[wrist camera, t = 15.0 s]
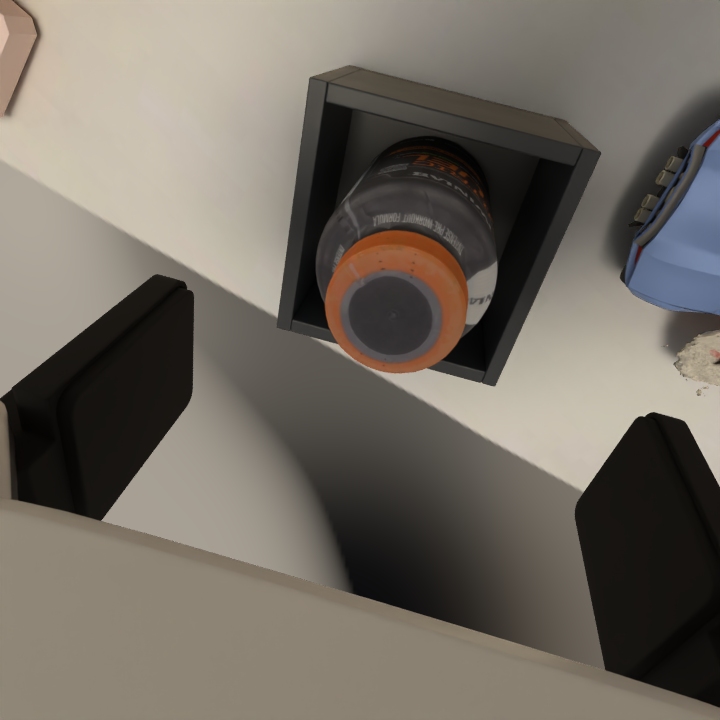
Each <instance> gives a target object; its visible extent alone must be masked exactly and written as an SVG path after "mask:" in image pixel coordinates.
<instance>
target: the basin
mask: <svg viewBox="0 0 720 720" xmlns="http://www.w3.org/2000/svg"><path fill="white" fill-rule="evenodd" d="M423 136H432V137H439V138H442V139H446V140H448V141H451V142H453V143H455V144H457V145H459V146H460V147H462V148H463V149H464V150H465V151H466V152H468V153H469V154H470V155H471V156H472V157H473V158H474V159H475V160H476V162H477V163H478V164H479V166H480V168H481V170H482V171H483V173H484V176H485V179H486V182H487V184H488V189H489V198H490V205H491V213H492V221H493V228H494V237H495V244H496V253H497V279H496V285H495V289H494V293H493V296H492V299H491V301H490V304H489V306H488V308H487V310H486V311H485V313H484V314H483V316H482V317H481V319H480V320H479V322H478V323H477V324H476V325H475V326H474V327H473V328H472V329H471V330H470V331H469V332H468V333H466V334H465V335H464V336H463V337H461V338H460V339H459V341H458V343H457V344H456V346H455V347H454V348H453V349H452V350H451V352H450V353H449V354H448V355H447V356H446V357H444V358H443V359H442V360H440V361H439V362H438V363H436V364H434V365H432V366H430V367H428V369H431V370H435V371H439V372H442V373H446V374H450V375H453V376H457V377H461V378H464V379H468V380H472V381H476V382H479V383H481V382H482V383H483V384H487V385H490V386H495V385H496V383H497V381H498V379H499V377H500V375H501V372H502V370H503V368H504V366H505V364H506V361H507V359H508V357H509V355H510V353H511V350H512V348H513V346H514V344H515V342H516V339H517V337H518V335H519V333H520V331H521V329H522V326H523V324H524V322H525V320H526V318H527V315H528V313H529V311H530V309H531V307H532V304H533V302H534V300H535V298H536V296H537V293H538V291H539V289H540V287H541V285H542V282H543V280H544V278H545V276H546V274H547V271H548V269H549V267H550V265H551V263H552V260H553V258H554V256H555V254H556V252H557V249H558V247H559V245H560V243H561V241H562V238H563V236H564V234H565V232H566V230H567V227H568V225H569V223H570V221H571V219H572V216H573V214H574V212H575V210H576V208H577V206H578V203H579V201H580V199H581V197H582V195H583V192H584V190H585V188H586V186H587V184H588V181H589V179H590V177H591V175H592V173H593V170H594V168H595V166H596V164H597V162H598V159H599V157H600V155H601V152H600V151H599V150H598V149H597V148H595V147H594V146H593V145H592V144H591V143H590V142H589V141H588V140H587V139H585V138H584V137H583V136H582V135H581V134H580V133H579V132H578V131H577V130H576V129H574V128H573V127H572V126H571V125H570V124H569V123H568V122H567V121H565V120H561V119H557V118H553V117H549V116H545V115H541V114H537V113H534V112H530V111H526V110H522V109H518V108H514V107H510V106H506V105H502V104H498V103H495V102H491V101H487V100H483V99H479V98H475V97H471V96H467V95H463V94H459V93H456V92H452V91H448V90H444V89H440V88H436V87H432V86H428V85H424V84H420V83H417V82H413V81H409V80H405V79H401V78H397V77H393V76H389V75H385V74H381V73H378V72H374V71H370V70H366V69H362V68H358V67H354V66H350V65H349V66H345V67H342V68H339V69H335V70H332V71H329V72H326V73H323V74H319V75H316V76H313V77H310V78H309V86H308V93H307V101H306V108H305V116H304V124H303V131H302V139H301V146H300V154H299V161H298V169H297V177H296V184H295V192H294V199H293V207H292V215H291V222H290V230H289V237H288V245H287V252H286V260H285V268H284V275H283V283H282V290H281V298H280V305H279V313H278V321H277V328H281V329H284V330H288V331H290V330H291V331H292V332H295V333H299V334H303V335H307V336H310V337H314V338H318V339H321V340H325V341H329V342H332V343H336V344H338V343H337V341H336V340H335V338H334V336H333V334H332V332H331V330H330V328H329V326H328V321H327V317H326V311H325V303H324V301H323V299H322V297H321V293H320V290H319V287H318V282H317V276H316V254H317V249H318V244H319V241H320V237H321V235H322V233H323V231H324V228H325V225H326V224H327V222H328V220H329V219H330V217H331V216H332V215H333V213H334V212H335V211H336V209H337V208H338V207H339V205H340V204H341V203H342V201H343V200H344V199H345V197H346V196H347V194H348V193H349V192H350V190H351V189H352V188H353V186H354V185H355V184H356V182H357V181H358V180H359V179H360V177H361V176H362V175H363V173H364V172H365V171H366V169H367V168H368V167H369V165H370V164H371V162H372V161H373V160H374V159H375V158H376V157H377V156H378V155H379V154H380V153H382V152H383V151H384V150H385V149H387V148H388V147H390V146H391V145H393V144H395V143H397V142H400V141H402V140H405V139H408V138H415V137H423Z"/></svg>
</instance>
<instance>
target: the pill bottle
mask: <svg viewBox="0 0 720 720" xmlns="http://www.w3.org/2000/svg"><path fill="white" fill-rule="evenodd" d="M316 276H317V282H318V287H319V290H320V293H321V297H322V299H323V301H324V303H325V311H326V317H327V321H328V326H329V328H330V330H331V332H332V334H333V336H334V338H335V340H336V341H337V343H338V344H339V345H340V347H341V348H342V349H343V350H344V351H345V352H346V353H348V354H349V355H350V356H351V357H352V358H354V359H355V360H357V361H359V362H360V363H362V364H364V365H366V366H368V367H370V368H373V369H376V370H378V371H383V372H388V373H408V372H416V371H419V370H423V369H425V368H428V367H430V366H432V365H434V364H436V363H438V362H439V361H440V360H442V359H443V358H444V357H446V356H447V355H448V354H449V353H450V352H451V350H452V349H453V348H454V347H455V346H456V344H457V343H458V341H459V339H460V338H461V337H463V336H464V335H465V334H466V333H468V332H469V331H470V330H471V329H472V328H473V327H474V326H475V325H476V324H477V323H478V322H479V320H480V319H481V317H482V316H483V314H484V313H485V311H486V310H487V308H488V306H489V304H490V301H491V299H492V296H493V293H494V289H495V285H496V279H497V253H496V244H495V237H494V228H493V221H492V213H491V205H490V198H489V189H488V184H487V182H486V179H485V176H484V173H483V171H482V170H481V168H480V166H479V164H478V163H477V162H476V160H475V159H474V158H473V157H472V156H471V155H470V154H469V153H468V152H466V151H465V150H464V149H463V148H462V147H460V146H459V145H457V144H455V143H453V142H451V141H448V140H446V139H442V138H439V137H432V136H423V137H415V138H408V139H405V140H402V141H400V142H397V143H395V144H393V145H391V146H390V147H388V148H387V149H385V150H384V151H383V152H382V153H380V154H379V155H378V156H377V157H376V158H375V159H374V160H373V161H372V162H371V164H370V165H369V167H368V168H367V169H366V171H365V172H364V173H363V175H362V176H361V177H360V179H359V180H358V181H357V182H356V184H355V185H354V186H353V188H352V189H351V190H350V192H349V193H348V194H347V196H346V197H345V199H344V200H343V201H342V203H341V204H340V205H339V207H338V208H337V209H336V211H335V212H334V213H333V215H332V216H331V217H330V219H329V220H328V222H327V224H326V225H325V228H324V231H323V233H322V235H321V237H320V241H319V244H318V249H317V254H316Z"/></svg>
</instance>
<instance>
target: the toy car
mask: <svg viewBox="0 0 720 720" xmlns="http://www.w3.org/2000/svg"><path fill="white" fill-rule="evenodd" d="M711 136H712V137H711ZM692 147H693V148H692ZM691 149H692V152H691V154H690V151H691ZM665 169H666V170H669V171H672V172H668V171H665V170H663V171H661V172H660V174H659V175H658V177H657V179H656V184H659V185H662V188H661V190H660V191H659V193H658V195H657V196H654V195H650V194H648V195H647V196H646V197H645V198H644V200H643V202H642V204H641V205H642V207H643V208H646V209H648V210H646V209H643V208H640V209H639V210H638V211H637V213H636V214H635V216H634V220H636V221H634V222H632V223H630V224H628V225H629V227H633V226H641V225H643V226H642V228H641V229H640V230H638V231H637V232H636V233H635V237H634V240H633V242H632V246H631V249H630V253H629V257H628V261H627V263H626V265H625V267H624V268H623V270H622V272H621V275H620V279H621V281H622V282H623V283H624V284H626V286H627V287H628V288H629V290H630V291H631V292H632V294H633V295H635V296H636V297H638V298H640V299H642V300H644V301H646V302H649V303H651V304H653V305H656V306H658V307H661V308H664V309H667V310H672V311H683V312H700V313H709V314H716V315H720V119H719V120H717V121H716V122H715V123H714V124H713V125H711V126H710V127H708V128H707V129H706V130H705V131H703V132H702V133H701V134H700V135H699V136H698V137H697V138H696V139H695V140H694V141H693V142H692V143H691V145H690V149H689V151H688V150H687V149H686V148H685V147H684V146H682V147H679V148H678V157H675V156H672V157H670V159H669V160H668V162H667V164H666V165H665ZM646 225H647V227H648V228H647V229H646V230H645V231H644V232H643V233H640V231H641V230H642V229H643V228H644V227H645V226H646ZM682 307H683V308H682Z"/></svg>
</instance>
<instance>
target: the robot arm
mask: <svg viewBox="0 0 720 720" xmlns="http://www.w3.org/2000/svg"><path fill="white" fill-rule="evenodd" d="M193 323H194V294H193V292H192V291H190V290H187V286H186V284H185V282H183V281H180V280H177V279H173V278H170V277H166V276H162V275H158V274H157V275H154V276H152V277H151V278H150V279H149V280H147V281H146V282H145V283H143V284H142V285H141V286H140V287H138V288H137V289H136V290H134V291H133V292H132V293H131V294H129V295H128V296H127V297H126V298H124V299H123V300H122V301H121V302H119V303H118V304H117V305H116V306H114V307H113V308H112V309H111V310H109V311H108V312H107V313H105V314H104V315H103V316H102V317H100V318H99V319H98V320H97V321H95V322H94V323H93V324H92V325H90V326H89V327H88V328H87V329H85V330H84V331H83V332H82V333H80V334H79V335H78V336H77V337H75V338H74V339H73V340H72V341H70V342H69V343H68V344H67V345H65V346H64V347H63V348H61V349H60V350H59V351H58V352H56V353H55V354H54V355H52V356H51V357H50V358H49V359H47V360H46V361H45V362H44V363H42V364H41V365H40V366H39V367H37V368H36V369H35V370H34V371H32V372H31V373H30V374H28V375H27V376H26V377H25V378H23V379H22V380H21V381H20V382H18V383H17V384H16V385H15V386H13V387H12V389H11V390H10V391H9V392H8V393H6V394H5V395H4V396H3V397H1V398H0V720H720V487H719V485H718V483H717V481H716V479H715V477H714V475H713V473H712V471H711V470H710V468H709V466H708V464H707V462H706V460H705V458H704V456H703V454H702V452H701V450H700V449H699V447H698V445H697V443H696V441H695V439H694V437H693V435H692V433H691V431H690V429H689V428H688V426H687V424H686V423H685V422H684V421H683V420H680V419H677V418H673V417H669V416H666V415H662V414H659V413H655V412H652V413H649V414H647V415H646V416H645V417H643V416H640V417H638V418H636V419H635V420H634V422H633V423H632V425H631V426H630V427H629V429H628V430H627V432H626V433H625V434H624V436H623V437H622V439H621V440H620V442H619V443H618V444H617V446H616V447H615V449H614V450H613V452H612V453H611V454H610V456H609V457H608V459H607V460H606V462H605V463H604V464H603V466H602V467H601V469H600V470H599V472H598V473H597V474H596V476H595V477H594V479H593V480H592V481H591V483H590V484H589V486H588V487H587V489H586V490H585V491H584V493H583V494H582V496H581V497H580V499H579V501H578V502H577V505H576V508H575V520H576V526H577V531H578V535H579V541H580V545H581V551H582V555H583V561H584V566H585V570H586V576H587V581H588V586H589V590H590V595H591V601H592V606H593V610H594V615H595V620H596V625H597V630H598V635H599V640H600V645H601V650H602V655H603V660H604V665H605V670H606V671H605V670H602V669H599V668H595V667H592V666H589V665H586V664H582V663H579V662H576V661H573V660H569V659H566V658H563V657H559V656H556V655H553V654H550V653H546V652H543V651H540V650H536V649H533V648H530V647H527V646H523V645H520V644H517V643H513V642H510V641H507V640H503V639H500V638H497V637H494V636H490V635H487V634H484V633H480V632H477V631H474V630H471V629H467V628H464V627H461V626H458V625H454V624H450V623H447V622H444V621H441V620H437V619H434V618H430V617H427V616H424V615H421V614H417V613H414V612H410V611H407V610H404V609H401V608H397V607H394V606H391V605H387V604H384V603H381V602H377V601H374V600H370V599H367V598H364V597H361V596H357V595H353V594H351V593H347V592H344V591H340V590H337V589H333V588H330V587H327V586H324V585H320V584H317V583H314V582H310V581H307V580H303V579H300V578H297V577H293V576H290V575H287V574H283V573H280V572H276V571H273V570H270V569H266V568H263V567H259V566H256V565H252V564H249V563H245V562H242V561H239V560H235V559H232V558H229V557H225V556H222V555H218V554H215V553H211V552H208V551H205V550H201V549H198V548H194V547H191V546H188V545H184V544H181V543H177V542H174V541H170V540H167V539H163V538H160V537H157V536H153V535H149V534H146V533H142V532H138V531H135V530H131V529H128V528H124V527H121V526H117V525H113V524H110V523H106V522H103V521H101V520H102V519H103V518H104V516H105V515H106V513H107V512H108V511H109V510H110V508H111V507H112V506H113V504H114V503H115V502H116V500H117V499H118V497H119V496H120V495H121V494H122V492H123V491H124V490H125V488H126V487H127V486H128V484H129V483H130V481H131V480H132V479H133V477H134V476H135V475H136V474H137V472H138V471H139V470H140V468H141V467H142V466H143V464H144V463H145V461H146V460H147V459H148V458H149V456H150V455H151V454H152V452H153V451H154V449H155V448H156V447H157V445H158V444H159V443H160V441H161V440H162V439H163V437H164V436H165V435H166V433H167V432H168V431H169V429H170V428H171V427H172V425H173V424H174V423H175V421H176V420H177V419H178V417H179V416H180V415H181V413H182V412H183V411H184V409H185V408H186V407H187V405H188V403H189V401H190V399H191V396H192V389H193V330H194V329H193V328H194V327H193V325H194V324H193Z"/></svg>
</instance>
